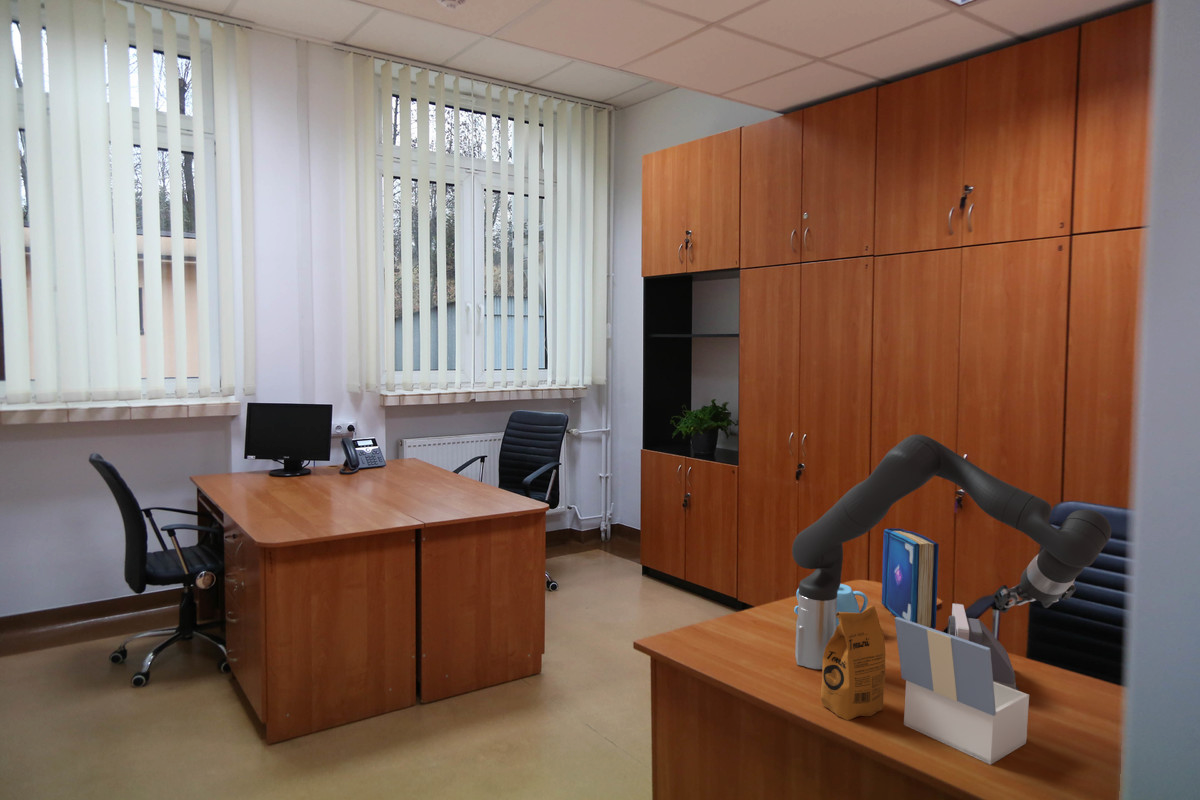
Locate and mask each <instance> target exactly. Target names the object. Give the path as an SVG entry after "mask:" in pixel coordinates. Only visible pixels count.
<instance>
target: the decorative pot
mask: <svg viewBox="0 0 1200 800" xmlns="http://www.w3.org/2000/svg"><path fill="white" fill-rule="evenodd" d="M795 595H796V599H797V601H798V598H799V588H797V590H796V593H795ZM856 596H859V597H862V598H863V603H862V606H861V609H860V608H859V607H860V606H859V603H858V601H857V597H856ZM868 599H869V598H868V596H867V595H866V594H865V593H864V592H862V591H860V590H853V589H852V587H851V586H849V585H847V584H843V583H840V587H839V589H838V593H837V612H849V613H862V612H863V611H864V610H865V609H866V608H867V607H868V602H869V600H868ZM793 612H794V614H796V616H798V605H795V606H794V611H793ZM838 625H839V618H837V617H836V628H837V626H838Z"/></svg>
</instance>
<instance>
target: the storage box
mask: <svg viewBox="0 0 1200 800" xmlns="http://www.w3.org/2000/svg"><path fill="white" fill-rule="evenodd" d="M993 685H994V696H995V708H996V714H995V715H994V716H993V715H990V714H988V713H985V712H983V711H980V710H978V709H975V708H973V707H970V706H968V705H966V704H963V703H961V702H958V701H955V700H952V699H950V698H948V697H945V696H943V695H940V694H938V693H935V692H934V691H931V690H929V689H926V688H924V687H921V686H919V685H917V684H914V683H912V682H909V681H907V680H905V695H904V696H905V697H904V699H905V700H904V715H903V716H904V717H903V725H904V726H905V727H907V728H910V729H912V730H915V731H916V732H918V733H920V734H923V735H926V737H929V738H932V739H934V740H936V741H937V742H939V743H940V742H941V743H943V744H944V745H947V746H949V747H951V748H952V749H955V750H957V751H960V752H962V753H964V754H965V755H968V756H971V757H972V758H975V759H977V760H978V761H981V762H984V763H985V764H987V765H989V766H990V765H992V764H994V763H996V762H997V761H999V760H1001V759H1002V758H1004V757H1006V756H1008V755H1009V754H1010V753H1012V752H1014V751H1015V750H1017V749H1019V748H1021V747H1022V746H1024V745H1026V744H1027V735H1028V721H1029V720H1028V719H1029V703H1030V701H1029V700H1030V694H1028V693H1026V692H1022V691H1020V690H1019V691H1018V690H1015V689H1012V688H1010V687H1007V686H1004V685H1001V684H999V683H996V682H993Z"/></svg>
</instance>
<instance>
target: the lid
mask: <svg viewBox="0 0 1200 800" xmlns="http://www.w3.org/2000/svg"><path fill="white" fill-rule="evenodd" d="M894 623H895V624H894V625H895V631H896V632H895V634H896V640H897V648H898V649H897V651H898V657H899V665H900V674H901V679H902V680H904V681H906V680H907V681H909V682H912V683H914V684H917V685H919V686H921V687H924V688H926V689H929V690H931V691H934V692H935V693H938V694H940V695H943V696H945V697H948V698H950V699H952V700H955V701H958V702H961V703H963V704H966V705H968V706H970V707H973V708H975V709H978V710H980V711H983V712H985V713H988V714H990V715H993V716H994V715H995V714H996V708H995V696H994V685H993V674H992V663H991V652H990V648H988V647H985V646H982V645H980V644H977V643H974V642H971V641H968V640H965V639H962V638H959V637H956V636H953V635H950V634H948V632H947V633H946V632H944V631H941V630H937V629H936V628H935V629H932V628H929V627H926V626H923V625H920V624H917V623H914V622H911V621H908V620H905V619H902V618H899V617H895V618H894Z"/></svg>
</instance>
